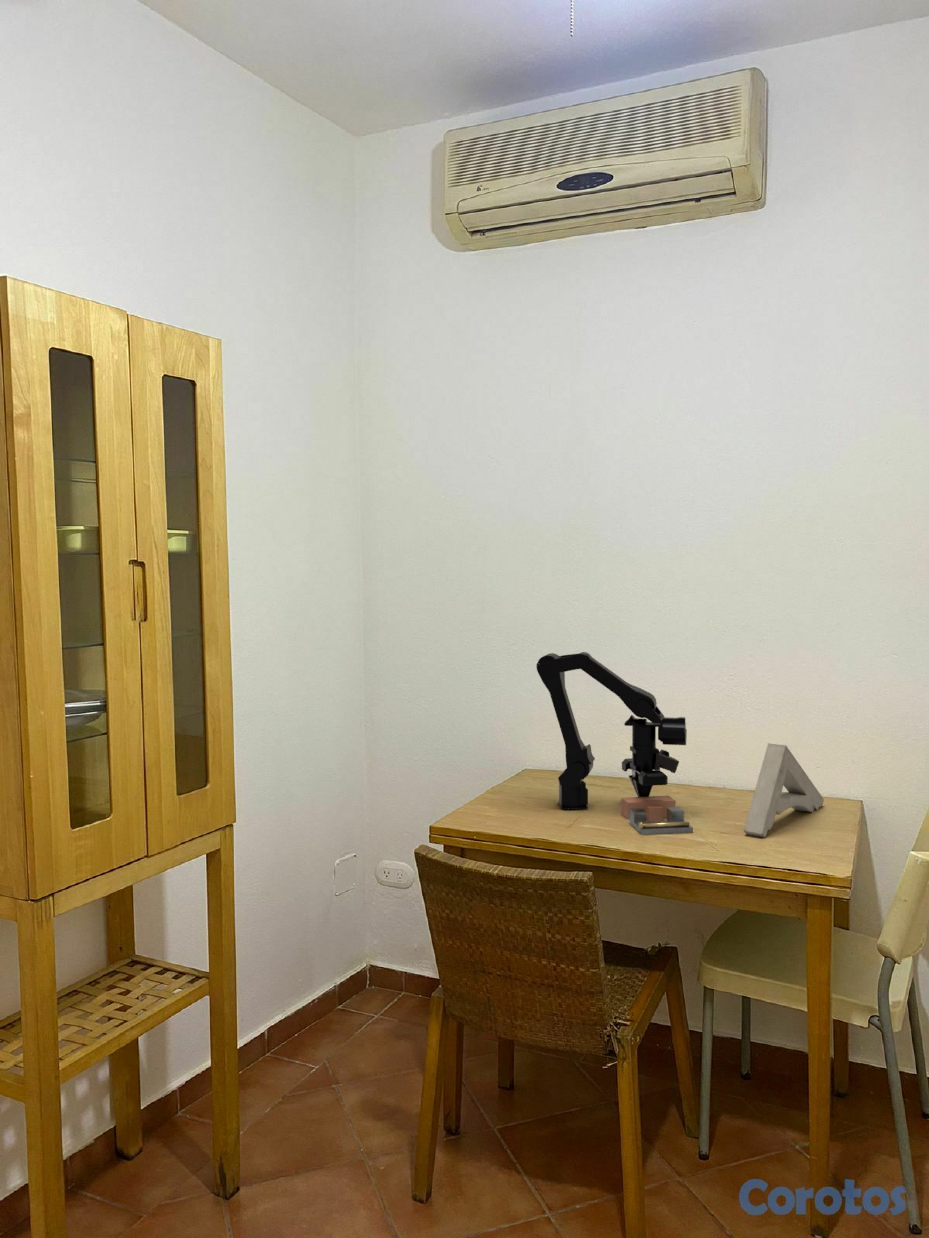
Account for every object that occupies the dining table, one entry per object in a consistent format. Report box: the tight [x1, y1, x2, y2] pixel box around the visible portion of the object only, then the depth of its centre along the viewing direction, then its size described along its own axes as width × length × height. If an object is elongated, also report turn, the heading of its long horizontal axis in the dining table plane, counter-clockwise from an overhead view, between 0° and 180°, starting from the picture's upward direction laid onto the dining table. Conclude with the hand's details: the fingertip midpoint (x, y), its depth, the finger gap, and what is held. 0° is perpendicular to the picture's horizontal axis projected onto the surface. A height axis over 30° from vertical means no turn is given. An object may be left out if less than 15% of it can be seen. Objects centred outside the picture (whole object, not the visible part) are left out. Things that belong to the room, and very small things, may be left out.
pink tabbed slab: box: [620, 795, 677, 822], centre depth 240 cm, size 12×8×4 cm, turn 99°
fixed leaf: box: [629, 806, 694, 836], centre depth 230 cm, size 12×10×4 cm
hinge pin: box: [639, 821, 690, 829], centre depth 226 cm, size 12×2×2 cm, turn 96°
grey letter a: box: [743, 743, 825, 838], centre depth 236 cm, size 22×4×30 cm
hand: (643, 805), depth 245 cm, fingers closed
